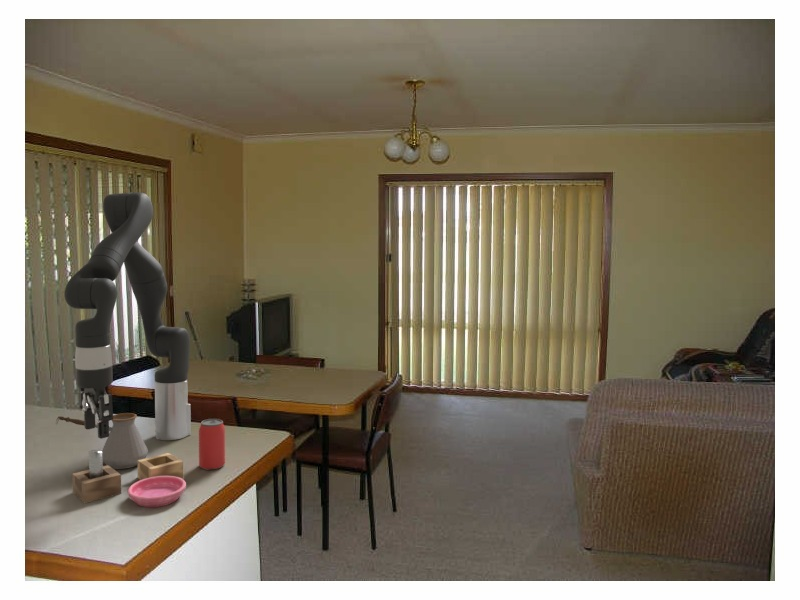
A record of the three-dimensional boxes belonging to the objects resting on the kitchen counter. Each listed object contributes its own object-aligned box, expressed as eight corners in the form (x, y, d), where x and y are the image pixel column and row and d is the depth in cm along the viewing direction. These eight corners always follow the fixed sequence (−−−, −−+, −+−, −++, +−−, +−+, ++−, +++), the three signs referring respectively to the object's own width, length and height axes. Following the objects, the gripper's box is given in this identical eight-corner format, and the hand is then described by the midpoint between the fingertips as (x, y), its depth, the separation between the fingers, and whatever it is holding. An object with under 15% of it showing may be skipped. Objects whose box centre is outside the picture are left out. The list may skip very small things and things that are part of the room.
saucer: (167, 513, 132) (167, 499, 132) (116, 507, 134) (116, 494, 134) (196, 490, 144) (195, 477, 144) (148, 485, 146) (148, 473, 146)
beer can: (230, 463, 162) (230, 419, 160) (214, 472, 155) (214, 426, 154) (209, 459, 164) (209, 417, 163) (193, 468, 158) (193, 423, 156)
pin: (100, 489, 143) (99, 448, 142) (105, 492, 141) (104, 451, 140) (88, 492, 141) (87, 451, 140) (92, 496, 139) (91, 454, 138)
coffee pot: (143, 453, 168) (142, 400, 166) (151, 466, 158) (151, 410, 157) (55, 467, 156) (53, 410, 154) (58, 482, 146) (56, 422, 145)
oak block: (168, 469, 156) (168, 452, 156) (183, 478, 151) (183, 461, 150) (137, 477, 150) (137, 460, 150) (151, 487, 145) (151, 469, 145)
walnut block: (108, 482, 147) (107, 465, 146) (121, 493, 141) (120, 474, 141) (72, 492, 141) (72, 473, 141) (84, 503, 136) (84, 483, 135)
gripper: (123, 367, 136) (125, 437, 138) (99, 357, 146) (102, 422, 148) (87, 372, 130) (90, 444, 132) (65, 361, 140) (68, 429, 142)
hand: (96, 432), depth 140 cm, fingers open, 8 cm apart
